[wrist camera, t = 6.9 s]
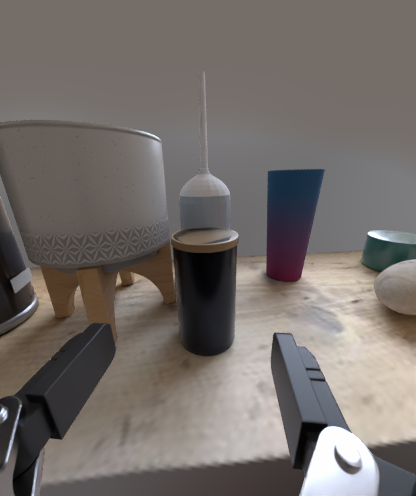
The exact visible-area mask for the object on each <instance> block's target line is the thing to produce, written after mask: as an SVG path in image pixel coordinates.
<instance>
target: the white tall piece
mask: <svg viewBox="0 0 416 496" xmlns="http://www.w3.org/2000/svg"><path fill="white" fill-rule="evenodd" d="M198 96H199V141H200V169H199V173H198V175H197V176H195V177H194V178H192V179H191V180H189V181H188V182H187V183H186V184H185V185H184V187H183V188H182V190H181V193H180V200H179V206H180V220H181V230H183V229H188V228H195V227H219V228H226V229H230V211H231V210H230V207H231V200H230V193H229V190H228V188H227V187H226V186H225V184H224V183H223V182H221V181H220V180H219V179H217V178H216V177H214V176H212V175H211V174H210V173H209V169H208V166H207V165H208V164H207V163H208V162H207V127H206V96H205V73H204V72H202V71H201V72H199V73H198Z"/></svg>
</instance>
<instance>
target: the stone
mask: <svg viewBox="0 0 416 496" xmlns="http://www.w3.org/2000/svg"><path fill="white" fill-rule="evenodd" d="M374 289H375V293H376V295H377V297H378V299H379V300H380V301H381V302H382V303H383V304H384V305H385V306H387V307H388V308H390V309H392V310H393V311H396V312H398V313H402V314H408V315H416V259H414V260H407V261H403V262H399V263H397V264H394V265H392V266H390V267H388V268H387V269H385V270H384V271H382V272H381V273H380V274H379V275H378V277H377V278H376V280H375V284H374Z"/></svg>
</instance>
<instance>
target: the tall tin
mask: <svg viewBox="0 0 416 496" xmlns="http://www.w3.org/2000/svg"><path fill="white" fill-rule="evenodd" d="M171 244H172V246H173V255H174V267H175V279H176V291H177V303H178V315H179V328H180V339H181V342H182V344H183V346H184V347H185V348H186V349H187V350H188V351H190V352H191V353H194V354H196V355H200V356H213V355H217V354H220V353H222V352H224V351H225V350H227V349H228V348H229V347H230V346H231V344H232V343H233V340H234V331H235V296H236V260H237V244H238V233H237V232H235V231H233V230H230V229H226V228H219V227H195V228H188V229H183V230H180V231H177V232H175V233H173V234H172V235H171Z"/></svg>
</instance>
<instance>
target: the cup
mask: <svg viewBox="0 0 416 496" xmlns="http://www.w3.org/2000/svg"><path fill="white" fill-rule="evenodd" d="M324 171H325V170H324V169H295V170H273V171H268V198H267V200H268V201H267V203H268V204H267V268H266V272H267V274H268V275H269V276H270V277H271V278H273V279H276V280H280V281H296V280H299V279H300V277H301V274H302V269H303V265H304V260H305V256H306V251H307V247H308V242H309V238H310V233H311V229H312V225H313V220H314V215H315V211H316V206H317V202H318V198H319V193H320V188H321V184H322V179H323V175H324Z"/></svg>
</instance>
